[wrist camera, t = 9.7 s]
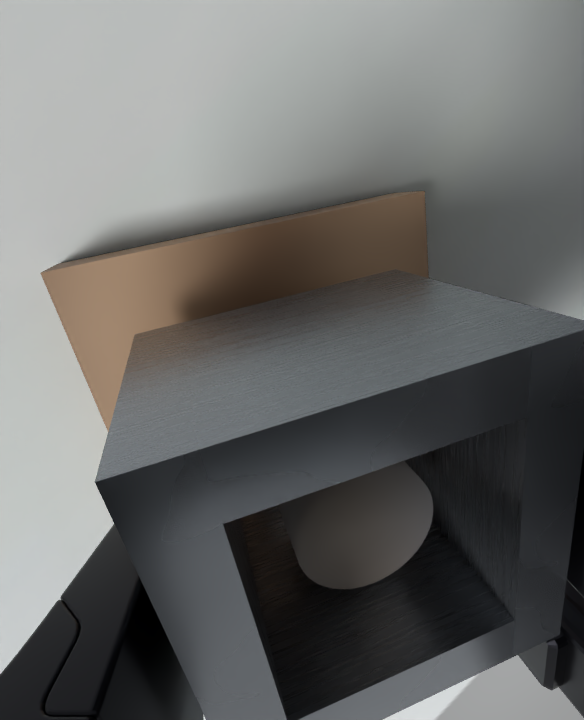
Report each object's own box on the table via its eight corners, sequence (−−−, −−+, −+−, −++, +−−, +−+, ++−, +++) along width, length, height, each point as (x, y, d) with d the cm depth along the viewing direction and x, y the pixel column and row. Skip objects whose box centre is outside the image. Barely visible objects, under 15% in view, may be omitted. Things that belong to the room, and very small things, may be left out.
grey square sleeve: (395, 268, 9) (600, 325, 5) (411, 472, 12) (559, 634, 7) (134, 334, 8) (94, 481, 4) (209, 544, 11) (238, 788, 6)
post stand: (394, 192, 11) (631, 177, 6) (413, 452, 15) (570, 609, 9) (58, 263, 10) (-108, 348, 4) (168, 537, 13) (169, 797, 7)
